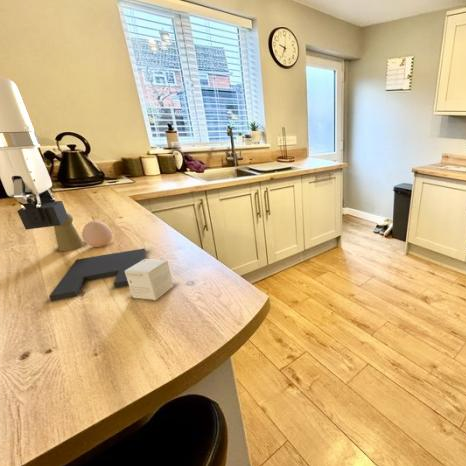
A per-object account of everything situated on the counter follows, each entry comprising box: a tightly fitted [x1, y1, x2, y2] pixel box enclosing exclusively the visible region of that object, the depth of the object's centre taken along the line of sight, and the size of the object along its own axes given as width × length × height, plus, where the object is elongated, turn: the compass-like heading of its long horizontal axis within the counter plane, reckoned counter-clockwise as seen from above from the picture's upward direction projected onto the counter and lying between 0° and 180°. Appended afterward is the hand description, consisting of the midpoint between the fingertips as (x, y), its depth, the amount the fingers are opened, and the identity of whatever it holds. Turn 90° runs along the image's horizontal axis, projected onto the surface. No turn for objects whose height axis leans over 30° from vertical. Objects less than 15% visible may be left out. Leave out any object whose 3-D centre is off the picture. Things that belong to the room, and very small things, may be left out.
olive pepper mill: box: [53, 213, 85, 252], centre depth 89 cm, size 6×6×11 cm
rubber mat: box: [49, 248, 147, 302], centre depth 76 cm, size 16×20×2 cm
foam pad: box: [16, 200, 68, 231], centre depth 68 cm, size 6×6×4 cm
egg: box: [81, 220, 114, 248], centre depth 90 cm, size 7×7×8 cm
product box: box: [125, 258, 174, 301], centre depth 67 cm, size 6×6×7 cm
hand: (46, 219), depth 68 cm, fingers closed on foam pad, 6 cm apart
